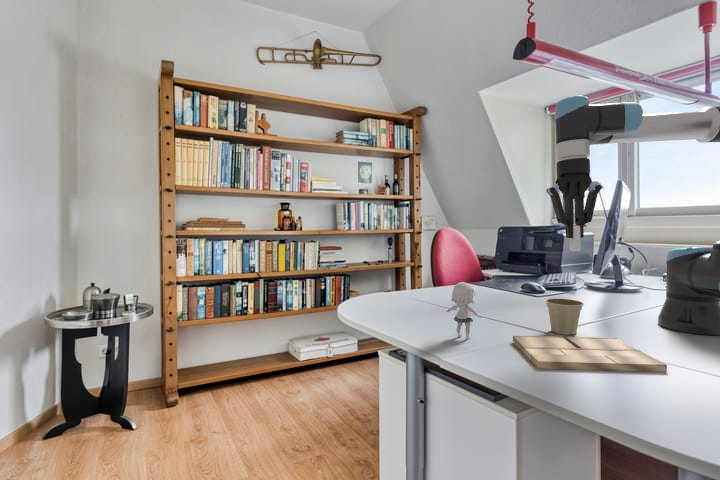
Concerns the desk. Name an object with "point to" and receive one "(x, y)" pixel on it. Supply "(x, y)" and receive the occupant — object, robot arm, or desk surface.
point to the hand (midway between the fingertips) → (575, 250)
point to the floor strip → (593, 359)
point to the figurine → (463, 306)
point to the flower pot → (564, 315)
